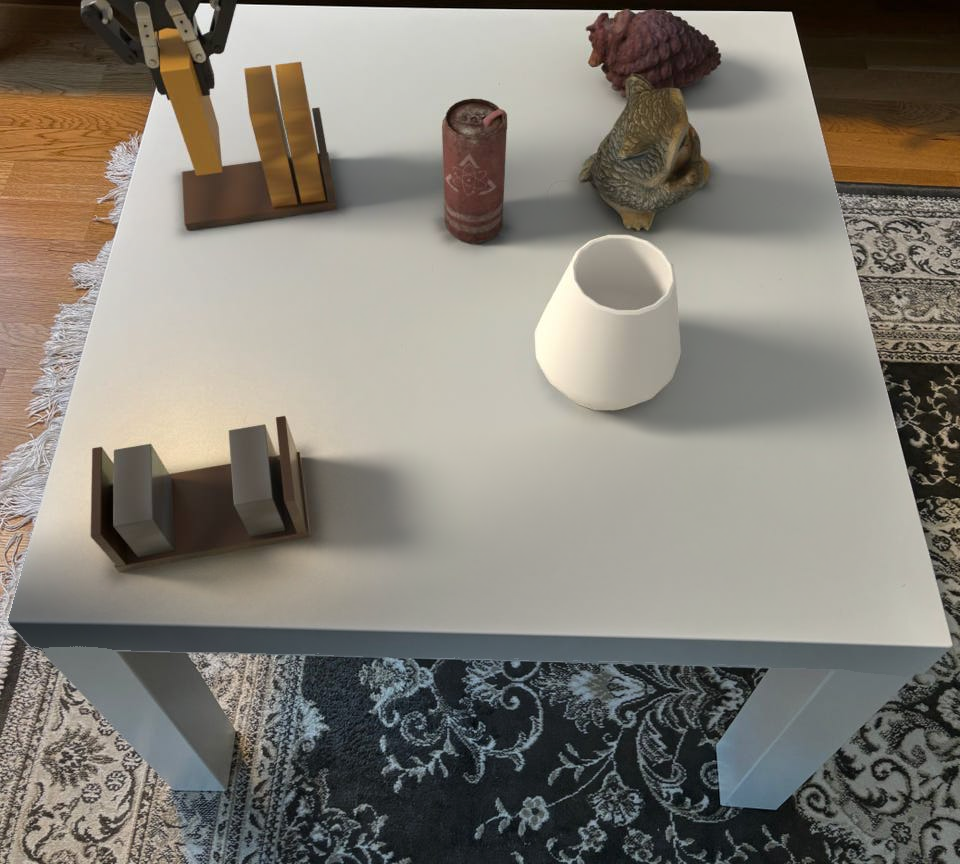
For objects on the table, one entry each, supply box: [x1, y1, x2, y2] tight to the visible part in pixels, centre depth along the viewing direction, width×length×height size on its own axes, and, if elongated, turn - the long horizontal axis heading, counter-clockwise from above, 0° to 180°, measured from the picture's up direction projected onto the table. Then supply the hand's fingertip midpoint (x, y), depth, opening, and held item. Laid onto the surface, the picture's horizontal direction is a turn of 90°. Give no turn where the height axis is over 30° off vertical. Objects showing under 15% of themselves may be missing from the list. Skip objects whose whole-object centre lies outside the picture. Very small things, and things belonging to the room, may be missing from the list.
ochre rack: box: [181, 61, 339, 231], centre depth 91 cm, size 16×8×13 cm, turn 102°
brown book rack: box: [89, 415, 312, 573], centre depth 74 cm, size 16×8×7 cm, turn 102°
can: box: [441, 98, 508, 245], centre depth 88 cm, size 6×6×14 cm
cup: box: [534, 234, 682, 411], centre depth 79 cm, size 13×13×14 cm
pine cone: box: [585, 8, 722, 99], centre depth 103 cm, size 18×10×10 cm
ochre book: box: [158, 28, 223, 176], centre depth 85 cm, size 3×7×12 cm, turn 12°
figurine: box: [578, 74, 711, 232], centre depth 90 cm, size 14×15×15 cm
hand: (188, 91), depth 84 cm, fingers closed on ochre book, 2 cm apart
